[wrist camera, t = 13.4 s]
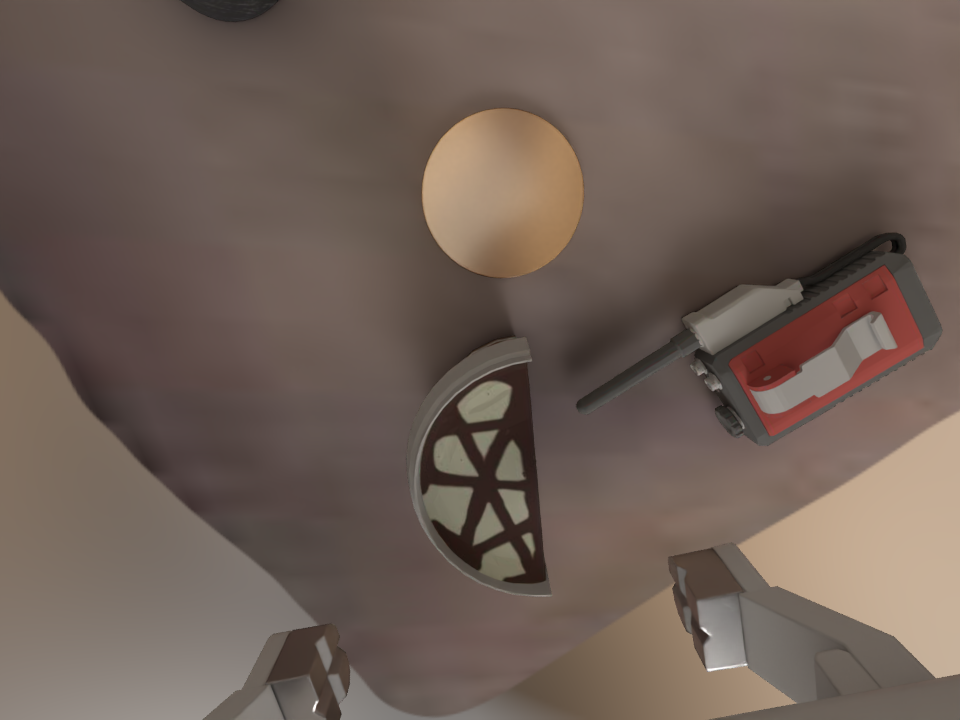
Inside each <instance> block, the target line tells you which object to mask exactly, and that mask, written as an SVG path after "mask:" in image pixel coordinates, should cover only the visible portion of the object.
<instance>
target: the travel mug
mask: <svg viewBox="0 0 960 720" xmlns="http://www.w3.org/2000/svg"><path fill="white" fill-rule="evenodd" d="M181 1H182V2H183V3H185V4H186V5H188V6H190V7H191V8H193V9H194V10H196V11H198V12H199V13H201V14H204V15H206V16H208V17H211V18H214V19H218V20H224V21H243V20H247V19H251V18H254V17H256V16H258V15H261V14H262V13H264V12H265V11H267V10H268V9H269V8H271V7H272V6H273V5H274V4H275V3H276V2H277V1H278V0H181Z"/></svg>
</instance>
